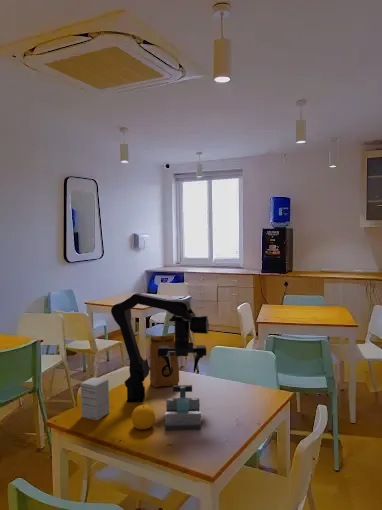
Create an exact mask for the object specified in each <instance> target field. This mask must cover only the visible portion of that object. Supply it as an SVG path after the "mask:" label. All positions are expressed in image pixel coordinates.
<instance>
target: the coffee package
mask: <svg viewBox="0 0 382 510" xmlns="http://www.w3.org/2000/svg"><path fill="white" fill-rule="evenodd" d="M174 344H175V334H168V335H167V334H166V335H155V336H150V347H149V359H150V360H149V367H150V369H149V382H150V384H151V385H152V387H154V388H159V387H161V388H162V386H163V387H171V386H172V387H173V385H179V383H180V366H179V357H177V356H176V355H175V353H169V354H170V362H171V373H170V371H169V368H168V365H167V363H166V361H165V359H164V358H161V356H158V348H159V346H169V348H174Z"/></svg>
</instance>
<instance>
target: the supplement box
mask: <svg viewBox="0 0 382 510" xmlns="http://www.w3.org/2000/svg"><path fill="white" fill-rule="evenodd" d="M109 387H110V386H109V379H107V378H100V377H91V378H89V379H86V380H84V381H83V382H80V408H81V409H80V411H81V413H80V414H81V418H84V419H89V420H94V421H99V420H100V419H102V418H103V417H105V416H107V415H108V414H110V396H109V395H110V394H109V393H110V392H109Z"/></svg>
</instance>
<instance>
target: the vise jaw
mask: <svg viewBox="0 0 382 510" xmlns="http://www.w3.org/2000/svg"><path fill="white" fill-rule="evenodd" d="M172 387H173V389H172V390H173V393H179V398H188V402H189V410H191V409H199V410H200V397H186V393H189V392H190V393H193V384H183V385H181V384H180V385H179V384H178V385H173V386H172ZM177 398H178V397H174V398H173V397H172V398H168V397H167V398H166V411H167V410H177Z"/></svg>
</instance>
